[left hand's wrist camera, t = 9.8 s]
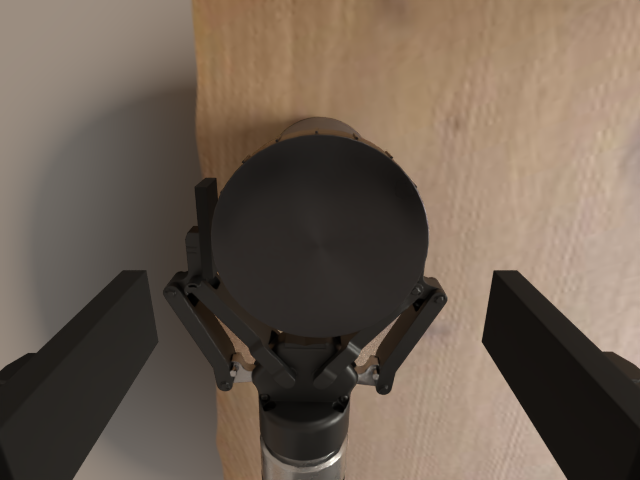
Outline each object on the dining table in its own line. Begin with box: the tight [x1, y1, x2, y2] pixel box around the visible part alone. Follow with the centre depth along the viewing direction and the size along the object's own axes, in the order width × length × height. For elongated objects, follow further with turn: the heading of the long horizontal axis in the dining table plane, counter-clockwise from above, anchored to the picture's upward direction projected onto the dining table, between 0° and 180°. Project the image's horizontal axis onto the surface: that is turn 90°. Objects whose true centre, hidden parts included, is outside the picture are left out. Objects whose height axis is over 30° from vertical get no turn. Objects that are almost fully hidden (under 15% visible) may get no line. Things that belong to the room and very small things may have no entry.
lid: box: [211, 127, 429, 338], centre depth 20 cm, size 10×10×2 cm
